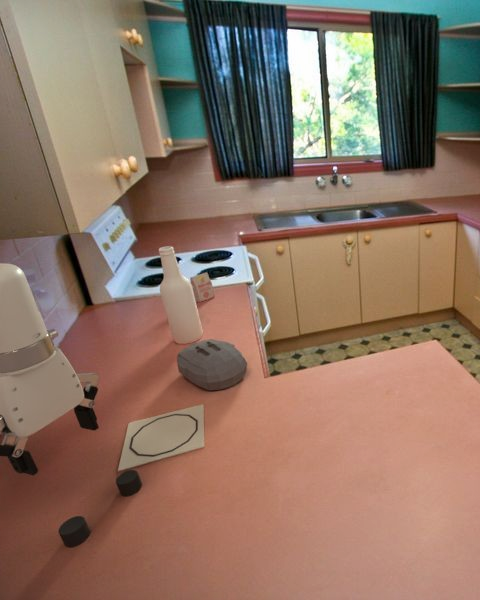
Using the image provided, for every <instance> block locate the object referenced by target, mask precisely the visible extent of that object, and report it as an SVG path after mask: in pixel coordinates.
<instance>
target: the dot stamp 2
mask: <svg viewBox="0 0 480 600" xmlns="http://www.w3.org/2000/svg"><path fill="white" fill-rule="evenodd" d="M115 483H116V486H117V489H118V491H119V493H120V496H122V497H130V496H133V495H135V494H136V493H138V492H139V491H140V490H141V489H142V487H143V483H142V480H141V477H140V475H139V472H138V471H137V470H136V469H127V470H124V471H122V473H120V474H119V475H117V477H116V478H115Z"/></svg>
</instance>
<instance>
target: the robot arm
mask: <svg viewBox="0 0 480 600" xmlns="http://www.w3.org/2000/svg"><path fill="white" fill-rule="evenodd" d="M57 337H59V332H58V331H57V329H55V328H51V329H50V330H48V328H47V327H46V324H45V321H44V319H43V316H42V314H41V312H40V309H39V307H38V304H37V302H36V299H35V297H34V294H33V292H32V289H31V287H30V285H29V281H28V279H27V276H26V274H25V273H24V271H23V269H22V268H21V267H19V266H18V265H15V264H11V263H3V262H1V263H0V435H4V437H3V439H2V442H1V444H0V457H7V459H8V461H9V462H10V463H9V464H10V465H11V467H12V468H13V470H14V471H15V472H16V473H18V474H19V475H21V474H26V475H30V476H35V475H36V474H38V472H39V469H38V466H37V465H36V462H35V460H34V458H33V456H32V454H31V453H30V451H29V450H25V448H26V445H27V443H28V440H29V437H30V436H32V435H35V434H36V433H37V432H39V431H40V430H42V429H43V428H45V427H47V426H49V425H50V424H51V423H53V422H55V421H57V420H58V419H59V418H61V417H62V416H64V415H65V414H67V413H68V412H70V411H71V410H73V412H74V414H75V418H76V419H77V422H78V424H79V427H80V428H81V429H84V430H89V431H97V430H98V429H100V427H99V424H98V422H97V421H98V417H97V415H96V413H95V410H94V407H95V405H96V401H95V398H96V396H97V394H98V392H99V388H98V385H99V379H100V375H99V373H95V372H85V373H84V372H83V373H76V371H75V369H74V368H73V366H72V364H71V362H70V361H69V359H68V357H66V356H65V354H64V352H62V350H61V349H60V348H59V347H57V346H55V343H54V339H55V338H57ZM81 383H84V385H85V386H84V387H83V386H82V384H81Z"/></svg>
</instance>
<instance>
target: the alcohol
mask: <svg viewBox="0 0 480 600" xmlns="http://www.w3.org/2000/svg"><path fill="white" fill-rule="evenodd" d="M174 248H175V247H173V246H171V245H167V246H162V247H159V248H158V252H159V253H158V254H159V256H160V261H161V267H162V273H163V279H162V281H161V282H160V285H159V293H160V297H161V300H162V305H163V309H164V312H165V314H166V319H167V322H168V327H169V330H170V333H171V337H172V340H173V342H175V343H176V344H178V345H188V344H192V343H196V342H197V341H199V340H200V339H202V337H203V334H204V330H203V326H202V322H201V317H200V314H199V310H198V307H197V306H198V305H197V302H196V301H195V297H194V293H193V289H192V285H191V283H190V280H189V279H188V278H187V277H185V276H184V275H183V273H182V271H181V269H180V266H179V263H178V260H177V257H176V255H175V249H174Z"/></svg>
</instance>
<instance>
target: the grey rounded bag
mask: <svg viewBox="0 0 480 600" xmlns="http://www.w3.org/2000/svg"><path fill="white" fill-rule="evenodd" d="M176 363H177V369H178V373H180V374H181V375H182V376H183V377H184V378H185V379H187V380H188V381H190V382H191V383H193V384H194V385H196V386H197V387H200V388H202V389H205V390H207V391H218V390H219V391H220V390H224V389H227V388H230V387H233V386H235V385H237V384H238V383H240V382H241V381H242V380H243V379H244V378H245V376H246V373H247V369H248V362H247V360H246V358H245V357H244V356H243V353H242V352H241V351H240V350H239V349H237V347H235V345H234V344H233V343H231V342H228V341H224V340H217V339H212V338H210V339H204V340H201V341H199V342H194V343H193V344H191V345H189V346H186V347H185V348H183V349H181V350H180V351H179V352H178V353H177V356H176Z"/></svg>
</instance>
